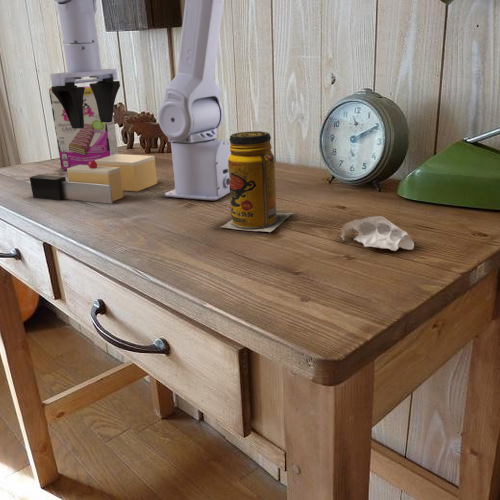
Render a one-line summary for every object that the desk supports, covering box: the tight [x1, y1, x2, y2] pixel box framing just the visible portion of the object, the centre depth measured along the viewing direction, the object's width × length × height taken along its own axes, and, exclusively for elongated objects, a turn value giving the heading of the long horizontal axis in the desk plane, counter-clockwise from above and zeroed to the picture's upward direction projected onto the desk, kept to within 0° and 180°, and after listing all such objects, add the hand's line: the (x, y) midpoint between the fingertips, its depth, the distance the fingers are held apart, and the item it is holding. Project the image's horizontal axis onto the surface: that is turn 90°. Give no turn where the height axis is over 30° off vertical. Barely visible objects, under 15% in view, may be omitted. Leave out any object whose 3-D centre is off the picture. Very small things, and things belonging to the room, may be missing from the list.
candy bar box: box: [48, 85, 119, 171], centre depth 110 cm, size 11×5×16 cm, turn 84°
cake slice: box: [66, 160, 124, 202], centre depth 89 cm, size 8×3×6 cm, turn 65°
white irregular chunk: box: [340, 215, 415, 252], centre depth 63 cm, size 6×8×4 cm
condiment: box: [221, 130, 293, 233], centre depth 72 cm, size 7×8×12 cm
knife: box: [29, 174, 114, 205], centre depth 88 cm, size 16×2×4 cm, turn 65°
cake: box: [94, 153, 158, 192], centre depth 96 cm, size 8×6×5 cm
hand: (92, 125), depth 97 cm, fingers open, 7 cm apart
